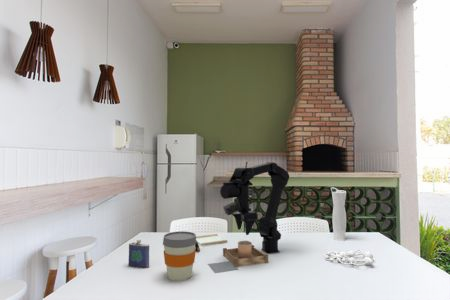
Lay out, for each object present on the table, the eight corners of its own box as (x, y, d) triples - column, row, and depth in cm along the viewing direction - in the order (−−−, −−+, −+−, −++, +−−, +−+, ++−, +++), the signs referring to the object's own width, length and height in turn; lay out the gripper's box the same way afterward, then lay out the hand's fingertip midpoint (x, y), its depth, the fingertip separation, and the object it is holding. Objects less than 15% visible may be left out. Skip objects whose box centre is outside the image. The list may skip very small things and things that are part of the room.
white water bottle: (331, 240, 155) (331, 188, 156) (330, 236, 162) (330, 186, 163) (347, 241, 153) (347, 188, 153) (346, 237, 160) (345, 187, 160)
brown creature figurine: (200, 256, 132) (191, 241, 131) (182, 263, 134) (173, 249, 132) (203, 241, 144) (195, 228, 142) (187, 249, 145) (179, 235, 144)
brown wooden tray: (252, 252, 135) (252, 244, 136) (268, 263, 122) (268, 254, 122) (222, 256, 130) (222, 248, 130) (235, 267, 116) (235, 259, 116)
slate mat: (229, 261, 124) (229, 261, 124) (239, 270, 114) (239, 269, 114) (207, 264, 120) (207, 264, 120) (214, 273, 111) (214, 273, 111)
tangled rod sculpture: (322, 266, 122) (321, 257, 122) (326, 253, 135) (325, 244, 135) (373, 273, 113) (373, 262, 113) (372, 258, 126) (372, 249, 126)
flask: (150, 266, 118) (150, 239, 119) (146, 268, 116) (146, 241, 116) (130, 264, 121) (130, 238, 121) (126, 266, 118) (126, 240, 118)
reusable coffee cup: (181, 285, 100) (181, 242, 101) (155, 277, 107) (155, 236, 107) (203, 273, 111) (203, 234, 111) (178, 266, 118) (178, 229, 118)
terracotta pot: (248, 256, 130) (248, 239, 130) (254, 260, 124) (254, 243, 124) (235, 257, 128) (235, 241, 128) (241, 262, 122) (241, 245, 122)
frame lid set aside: (216, 236, 163) (216, 233, 163) (227, 242, 151) (227, 240, 151) (193, 239, 157) (193, 236, 157) (202, 246, 145) (202, 243, 145)
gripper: (218, 194, 133) (219, 228, 133) (232, 200, 115) (233, 240, 115) (241, 193, 137) (241, 226, 136) (258, 198, 119) (258, 237, 119)
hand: (243, 232), depth 127 cm, fingers open, 9 cm apart
